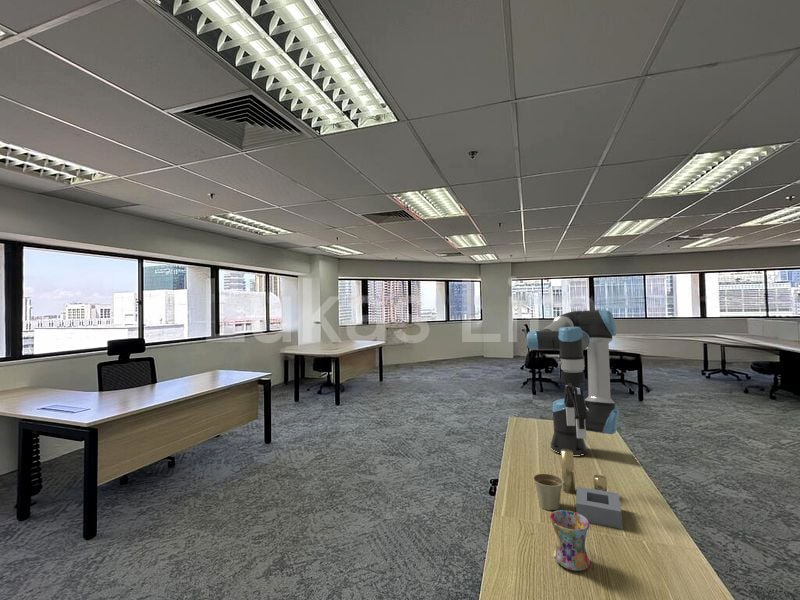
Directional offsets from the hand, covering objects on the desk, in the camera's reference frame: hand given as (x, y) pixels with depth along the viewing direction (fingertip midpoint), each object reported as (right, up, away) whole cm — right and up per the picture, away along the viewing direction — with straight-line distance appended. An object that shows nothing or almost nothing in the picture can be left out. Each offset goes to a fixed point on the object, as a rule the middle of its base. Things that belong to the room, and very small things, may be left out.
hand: (576, 431), depth 127 cm
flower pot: (-12, -22, -7) cm, 26 cm away
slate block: (+1, -21, -13) cm, 25 cm away
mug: (-18, -21, -33) cm, 43 cm away
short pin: (+8, -22, -1) cm, 23 cm away
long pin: (-1, -22, +2) cm, 22 cm away
